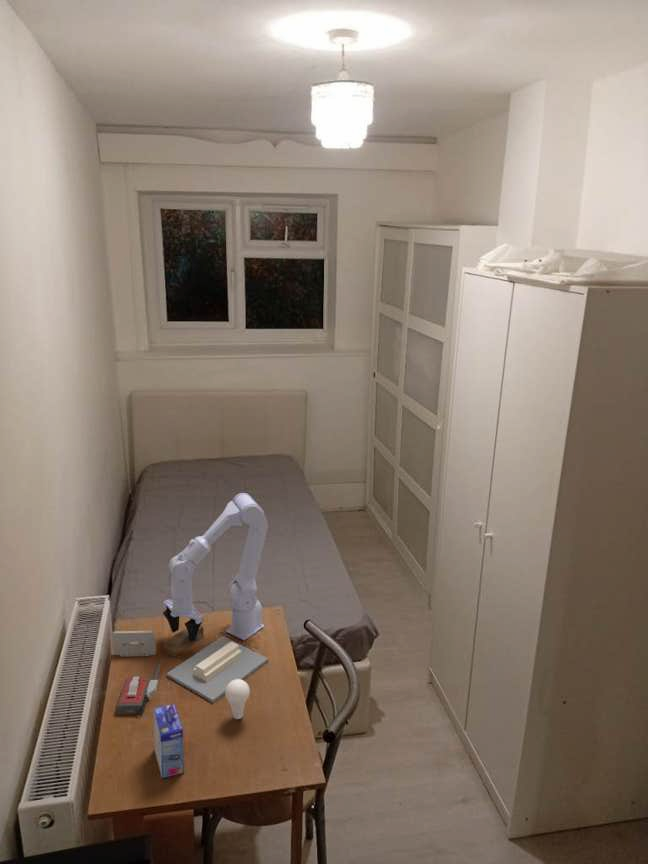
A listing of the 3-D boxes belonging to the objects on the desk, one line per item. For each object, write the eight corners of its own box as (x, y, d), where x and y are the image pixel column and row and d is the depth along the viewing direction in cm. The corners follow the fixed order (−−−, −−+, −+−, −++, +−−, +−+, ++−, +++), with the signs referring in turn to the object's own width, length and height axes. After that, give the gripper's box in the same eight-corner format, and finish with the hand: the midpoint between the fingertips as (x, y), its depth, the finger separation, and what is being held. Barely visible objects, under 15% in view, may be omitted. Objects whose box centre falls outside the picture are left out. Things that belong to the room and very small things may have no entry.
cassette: (113, 657, 191) (111, 634, 189) (115, 653, 193) (112, 630, 191) (155, 656, 192) (153, 633, 190) (156, 652, 194) (154, 629, 191)
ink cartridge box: (186, 773, 151) (183, 721, 147) (161, 780, 149) (158, 727, 145) (177, 743, 160) (174, 693, 155) (154, 749, 158) (150, 699, 153)
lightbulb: (240, 706, 172) (239, 670, 169) (255, 718, 168) (254, 682, 165) (221, 717, 168) (220, 681, 165) (235, 730, 164) (234, 693, 161)
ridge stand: (222, 638, 200) (222, 625, 199) (267, 661, 190) (267, 648, 189) (167, 676, 183) (166, 662, 182) (213, 703, 173) (212, 689, 172)
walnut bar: (195, 633, 203) (194, 622, 202) (203, 637, 201) (203, 626, 200) (165, 653, 194) (164, 641, 192) (173, 657, 192) (172, 645, 190)
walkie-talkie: (149, 718, 168) (163, 668, 187) (148, 703, 167) (162, 654, 186) (115, 719, 168) (132, 668, 187) (113, 704, 166) (131, 655, 186)
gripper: (154, 592, 193) (157, 632, 197) (189, 609, 185) (190, 651, 189) (173, 583, 199) (175, 622, 203) (207, 599, 191) (208, 639, 195)
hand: (184, 635), depth 196 cm, fingers open, 7 cm apart
